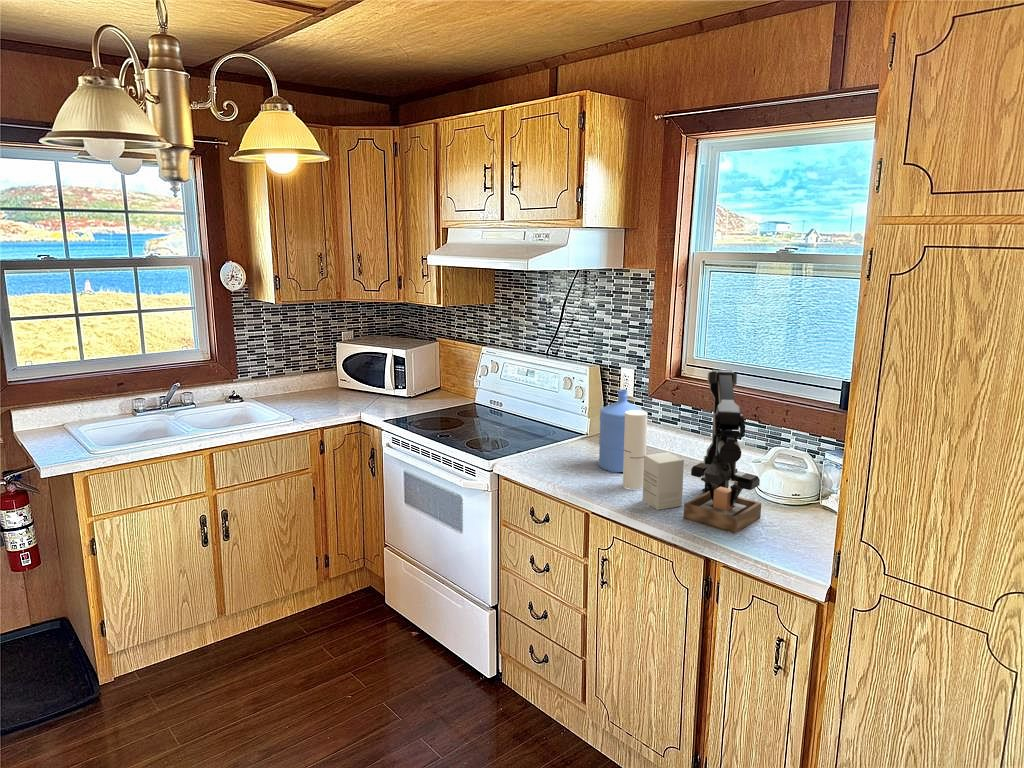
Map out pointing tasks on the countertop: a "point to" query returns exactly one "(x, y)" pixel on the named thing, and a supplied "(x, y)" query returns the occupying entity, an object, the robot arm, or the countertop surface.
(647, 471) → the supplement box
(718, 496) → the block
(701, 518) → the tray
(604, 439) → the water jug
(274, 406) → the countertop surface
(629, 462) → the cylindrical container
